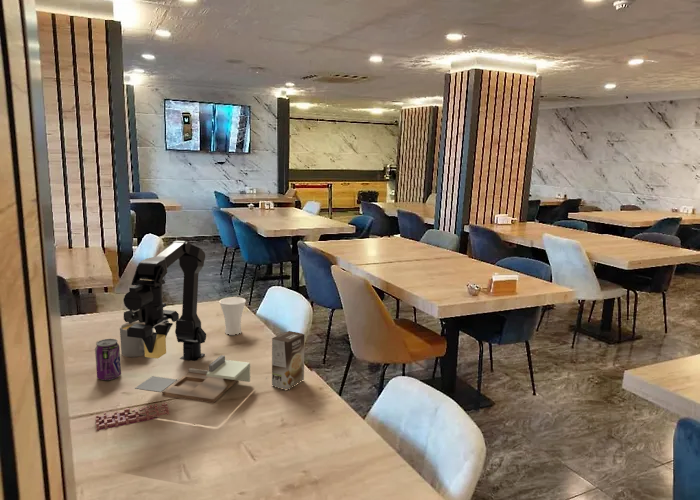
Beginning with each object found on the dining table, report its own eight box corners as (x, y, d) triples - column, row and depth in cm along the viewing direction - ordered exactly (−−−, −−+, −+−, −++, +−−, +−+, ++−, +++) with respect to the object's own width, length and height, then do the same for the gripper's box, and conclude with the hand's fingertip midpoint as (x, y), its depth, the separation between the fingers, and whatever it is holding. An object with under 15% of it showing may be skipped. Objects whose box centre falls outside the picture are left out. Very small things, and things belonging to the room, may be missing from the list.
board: (190, 374, 171) (190, 367, 170) (238, 381, 167) (238, 374, 167) (162, 396, 156) (162, 388, 155) (213, 404, 152) (213, 396, 151)
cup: (214, 333, 210) (213, 301, 207) (233, 326, 218) (232, 295, 216) (233, 339, 204) (232, 306, 202) (251, 331, 213) (251, 299, 210)
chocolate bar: (172, 417, 145) (171, 410, 145) (96, 432, 136) (96, 425, 136) (168, 405, 151) (168, 399, 151) (96, 419, 143) (95, 413, 142)
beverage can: (112, 383, 164) (109, 347, 162) (92, 380, 165) (89, 344, 163) (125, 373, 171) (123, 339, 168) (106, 371, 172) (104, 337, 170)
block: (153, 351, 164) (152, 333, 162) (166, 353, 163) (165, 334, 161) (144, 356, 159) (143, 338, 158) (157, 358, 158) (156, 339, 157)
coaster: (152, 377, 168) (152, 376, 168) (177, 381, 166) (177, 379, 166) (134, 389, 160) (134, 388, 159) (160, 393, 157) (160, 391, 157)
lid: (224, 377, 166) (223, 353, 164) (250, 380, 164) (249, 356, 162) (206, 392, 155) (206, 367, 154) (234, 396, 153) (234, 370, 152)
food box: (287, 391, 161) (287, 342, 158) (271, 386, 164) (271, 338, 161) (304, 380, 169) (305, 333, 166) (288, 376, 172) (288, 330, 169)
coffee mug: (118, 350, 190) (116, 324, 189) (146, 344, 196) (145, 319, 194) (127, 362, 180) (125, 335, 178) (156, 356, 185) (155, 329, 184)
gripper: (148, 291, 168) (150, 336, 171) (109, 307, 151) (112, 358, 153) (178, 294, 166) (180, 340, 169) (142, 311, 148) (145, 362, 151)
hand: (155, 349), depth 161 cm, fingers closed on block, 4 cm apart
